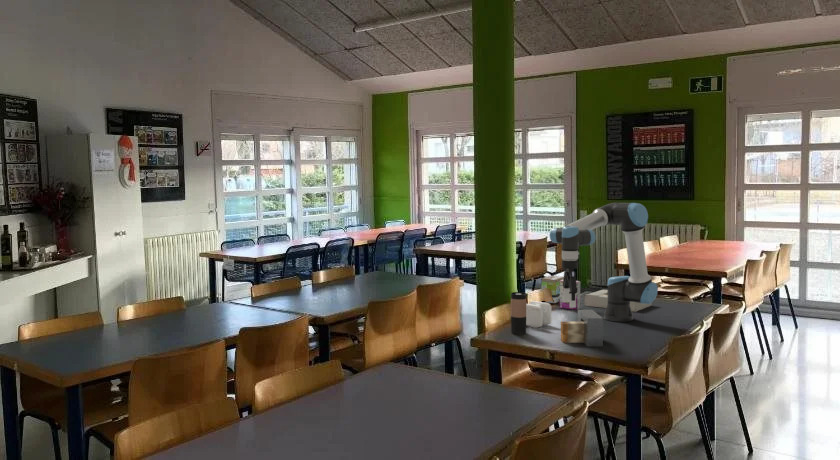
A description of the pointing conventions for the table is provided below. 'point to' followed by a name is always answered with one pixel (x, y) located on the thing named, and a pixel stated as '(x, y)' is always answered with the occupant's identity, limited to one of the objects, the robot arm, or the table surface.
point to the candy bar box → (567, 304)
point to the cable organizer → (538, 314)
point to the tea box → (552, 286)
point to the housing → (592, 327)
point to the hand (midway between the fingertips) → (569, 304)
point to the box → (602, 300)
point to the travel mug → (518, 313)
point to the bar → (572, 332)
